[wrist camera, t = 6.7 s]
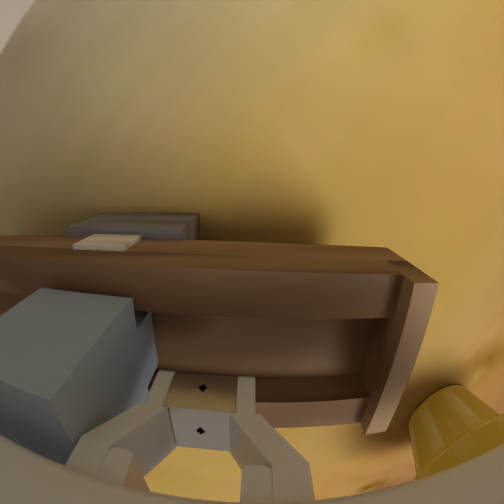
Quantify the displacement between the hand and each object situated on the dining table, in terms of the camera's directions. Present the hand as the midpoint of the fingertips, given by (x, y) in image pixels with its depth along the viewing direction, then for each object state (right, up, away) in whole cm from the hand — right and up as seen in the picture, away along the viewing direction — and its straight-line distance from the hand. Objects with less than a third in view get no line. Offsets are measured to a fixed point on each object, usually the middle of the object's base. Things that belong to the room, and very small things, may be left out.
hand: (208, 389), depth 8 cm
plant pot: (+19, -11, +13) cm, 25 cm away
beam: (-5, +3, +9) cm, 10 cm away
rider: (-5, +1, +3) cm, 5 cm away
